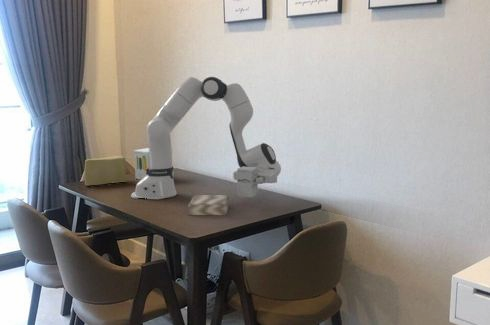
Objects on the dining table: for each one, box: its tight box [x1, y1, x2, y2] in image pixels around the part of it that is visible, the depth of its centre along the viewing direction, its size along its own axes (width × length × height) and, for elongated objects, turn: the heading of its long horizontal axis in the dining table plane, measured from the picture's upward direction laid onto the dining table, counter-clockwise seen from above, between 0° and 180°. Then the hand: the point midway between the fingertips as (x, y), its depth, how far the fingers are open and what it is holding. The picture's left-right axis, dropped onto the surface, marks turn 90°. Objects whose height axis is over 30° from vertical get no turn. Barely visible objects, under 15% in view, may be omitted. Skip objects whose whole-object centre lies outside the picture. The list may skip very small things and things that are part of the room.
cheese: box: [84, 155, 127, 185], centre depth 283 cm, size 22×10×15 cm, turn 126°
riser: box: [187, 194, 230, 216], centre depth 224 cm, size 16×16×5 cm
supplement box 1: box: [133, 147, 150, 179], centre depth 293 cm, size 13×13×18 cm
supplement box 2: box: [236, 166, 259, 198], centre depth 229 cm, size 7×7×13 cm
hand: (246, 179), depth 228 cm, fingers closed on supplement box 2, 7 cm apart
